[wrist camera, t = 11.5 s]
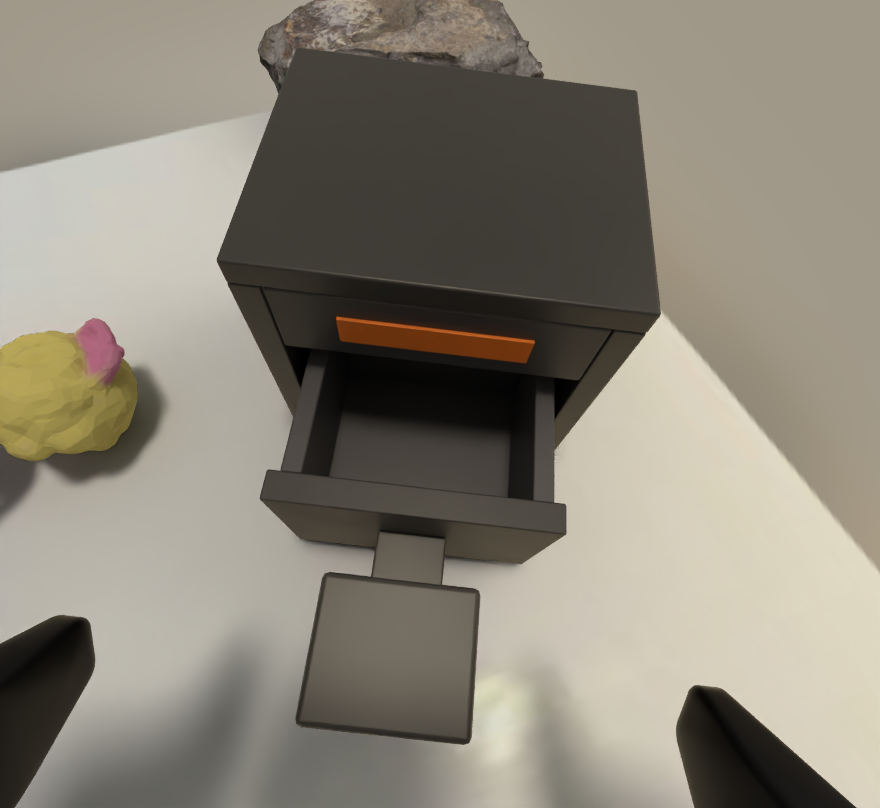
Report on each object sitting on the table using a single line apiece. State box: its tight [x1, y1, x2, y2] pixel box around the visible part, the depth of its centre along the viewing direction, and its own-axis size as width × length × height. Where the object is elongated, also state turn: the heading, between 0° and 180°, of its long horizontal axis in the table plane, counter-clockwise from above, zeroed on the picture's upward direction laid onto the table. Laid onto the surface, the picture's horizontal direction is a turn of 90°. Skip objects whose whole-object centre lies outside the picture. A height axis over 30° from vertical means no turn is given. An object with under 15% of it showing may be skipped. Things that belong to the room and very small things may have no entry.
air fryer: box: [217, 47, 661, 451], centre depth 17 cm, size 8×10×10 cm
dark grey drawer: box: [260, 348, 566, 745], centre depth 14 cm, size 11×8×10 cm
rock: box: [258, 0, 544, 93], centre depth 27 cm, size 14×11×5 cm
